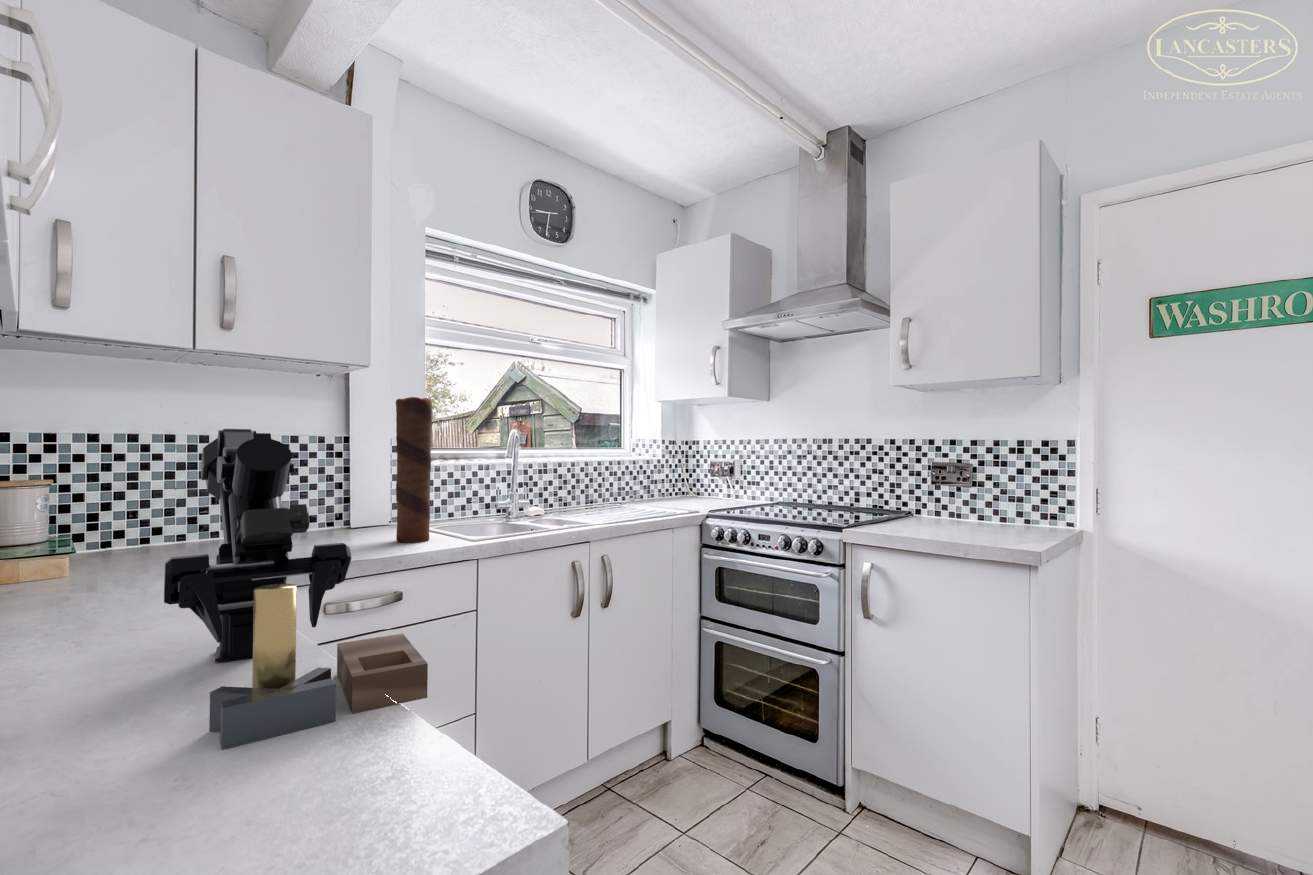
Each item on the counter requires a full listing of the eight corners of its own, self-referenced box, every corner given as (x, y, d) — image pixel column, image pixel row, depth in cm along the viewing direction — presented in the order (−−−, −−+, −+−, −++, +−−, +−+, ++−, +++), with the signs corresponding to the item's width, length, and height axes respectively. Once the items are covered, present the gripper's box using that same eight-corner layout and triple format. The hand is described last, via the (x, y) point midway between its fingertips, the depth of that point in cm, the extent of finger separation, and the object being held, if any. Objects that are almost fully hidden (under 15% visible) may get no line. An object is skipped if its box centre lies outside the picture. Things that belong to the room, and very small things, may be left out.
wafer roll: (416, 544, 189) (418, 396, 190) (388, 542, 192) (389, 396, 193) (438, 539, 199) (439, 398, 200) (410, 537, 202) (412, 399, 203)
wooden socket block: (336, 674, 80) (337, 643, 80) (402, 663, 85) (402, 633, 85) (352, 713, 69) (352, 676, 69) (427, 697, 73) (427, 663, 73)
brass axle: (261, 710, 69) (263, 584, 70) (300, 707, 70) (302, 582, 70) (245, 726, 65) (247, 592, 66) (286, 722, 66) (288, 590, 66)
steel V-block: (208, 727, 65) (209, 688, 65) (328, 699, 72) (328, 665, 72) (213, 751, 60) (214, 709, 60) (342, 719, 67) (342, 682, 67)
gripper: (166, 485, 69) (167, 605, 60) (349, 480, 81) (371, 580, 72) (163, 546, 75) (163, 664, 66) (334, 533, 87) (353, 632, 78)
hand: (269, 632), depth 71 cm, fingers open, 9 cm apart
